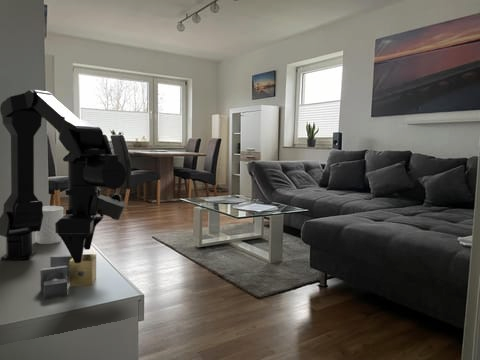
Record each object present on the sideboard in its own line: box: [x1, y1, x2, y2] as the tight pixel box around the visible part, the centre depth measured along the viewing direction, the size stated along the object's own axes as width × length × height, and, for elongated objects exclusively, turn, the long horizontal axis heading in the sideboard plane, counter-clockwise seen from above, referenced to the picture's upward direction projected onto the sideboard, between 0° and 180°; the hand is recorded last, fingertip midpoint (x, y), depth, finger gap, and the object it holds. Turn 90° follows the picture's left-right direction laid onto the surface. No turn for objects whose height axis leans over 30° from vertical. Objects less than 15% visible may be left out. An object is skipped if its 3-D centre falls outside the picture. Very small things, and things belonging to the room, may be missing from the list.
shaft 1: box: [39, 266, 68, 300], centre depth 72 cm, size 5×5×4 cm
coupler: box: [69, 253, 97, 287], centre depth 78 cm, size 4×4×6 cm
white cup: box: [34, 205, 65, 245], centre depth 107 cm, size 8×8×10 cm
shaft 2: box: [49, 254, 72, 277], centre depth 84 cm, size 5×5×4 cm
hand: (83, 255), depth 78 cm, fingers open, 9 cm apart
